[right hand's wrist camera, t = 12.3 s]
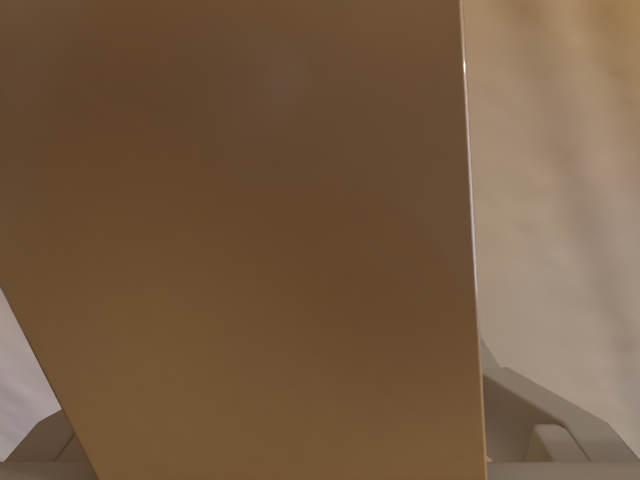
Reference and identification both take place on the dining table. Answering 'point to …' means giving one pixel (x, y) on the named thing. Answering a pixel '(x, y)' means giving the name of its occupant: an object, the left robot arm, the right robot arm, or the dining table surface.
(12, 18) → the bar
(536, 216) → the dining table surface
